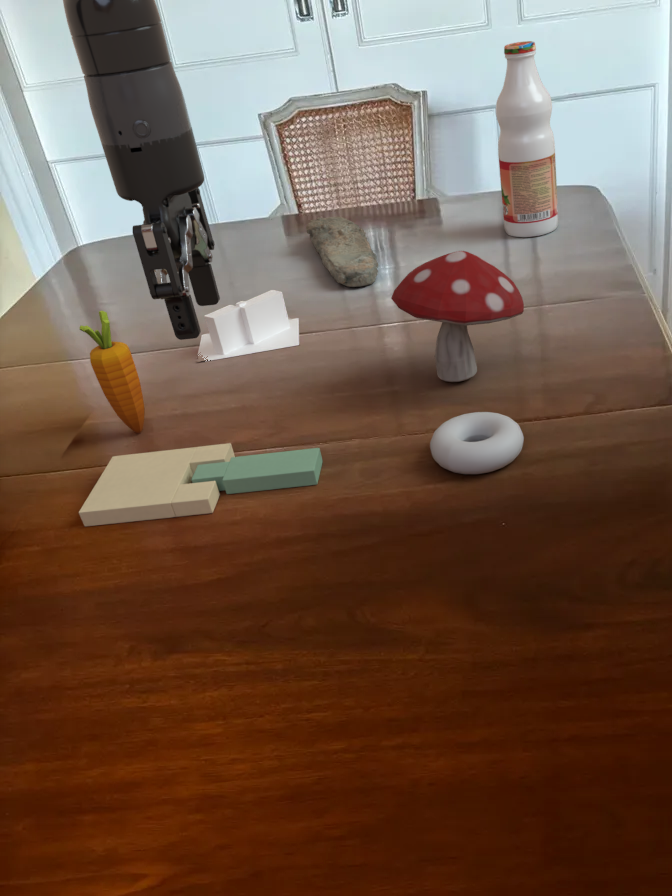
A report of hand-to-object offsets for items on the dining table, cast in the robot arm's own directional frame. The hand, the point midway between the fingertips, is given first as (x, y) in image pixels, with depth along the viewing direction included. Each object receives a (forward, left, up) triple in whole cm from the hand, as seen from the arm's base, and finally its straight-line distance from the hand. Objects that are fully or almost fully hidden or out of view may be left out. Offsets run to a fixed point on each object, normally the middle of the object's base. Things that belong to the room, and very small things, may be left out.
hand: (199, 320), depth 84 cm
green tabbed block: (0, +3, -19) cm, 19 cm away
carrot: (-17, +17, -19) cm, 31 cm away
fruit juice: (+36, +80, -19) cm, 90 cm away
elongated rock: (+3, +77, -19) cm, 80 cm away
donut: (+25, +2, -19) cm, 31 cm away
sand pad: (-10, +2, -19) cm, 22 cm away
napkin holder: (-9, +45, -19) cm, 49 cm away
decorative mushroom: (+24, +23, -19) cm, 38 cm away
